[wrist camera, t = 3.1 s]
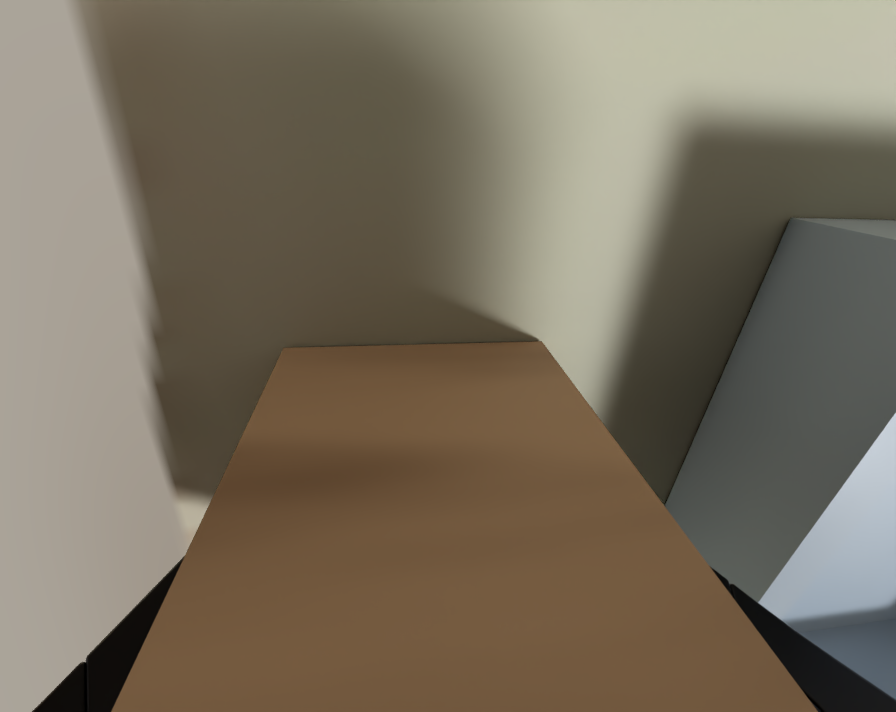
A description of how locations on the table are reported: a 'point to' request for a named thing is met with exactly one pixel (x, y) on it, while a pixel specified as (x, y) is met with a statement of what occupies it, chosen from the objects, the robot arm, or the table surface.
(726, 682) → the walnut block
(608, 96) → the table surface
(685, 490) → the tray
